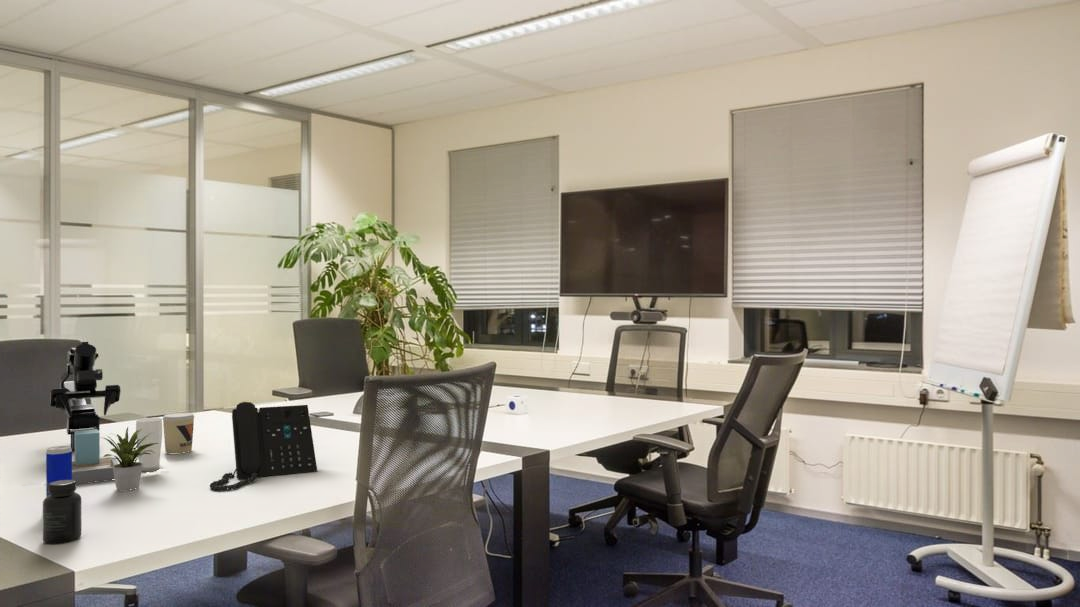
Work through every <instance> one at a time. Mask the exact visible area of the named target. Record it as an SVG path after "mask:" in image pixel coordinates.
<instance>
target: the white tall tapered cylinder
mask: <svg viewBox="0 0 1080 607" xmlns="http://www.w3.org/2000/svg"><path fill="white" fill-rule="evenodd" d="M135 421H136V423H135V432H136V431H137V430H141V431H140V432H139V433H138V434H137V439H136V441H138V440H139V439H141V440H142V439H143V438H144V437H145V436H147V435H148V434H150V433H152V434H150V435H148V436H150V437H148V436H147V437H146V438H145V439H144V440H143V441H142V442H141V443H140V444H139V445H138V446H143V445H146V444H150V443H158V444H154V445H152V446H149V447H147V448H145V449H143V450H142V451H141V452H143V451H146V450H151V451H153V452H151V451H146V452H145V453H150V454H151V455H150V454H143V455H142V456H141V455H140V456H141V457H140V456H138V458H137V460H138V462H140V463H143V466H142V472H141V473H143V472H149V473H155V472H158V471H159V470H160V465H161V463H160V461H161V449H162V440H163V439H162V438H163V418H161V417H147V418H144V417H143V418H139V419H136V420H135ZM153 432H154V433H153ZM141 440H139V441H138V442H137V444H138V443H139V442H140V441H141ZM137 444H136V445H137ZM138 448H139V447H138ZM138 448H136V450H137V449H138ZM143 453H144V452H143ZM141 454H142V453H141ZM157 467H158V468H157ZM157 470H158V471H157ZM154 471H155V472H154Z"/></svg>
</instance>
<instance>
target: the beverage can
mask: <svg viewBox="0 0 1080 607" xmlns="http://www.w3.org/2000/svg"><path fill="white" fill-rule="evenodd" d="M45 452H46V453H45V466H46V467H45V470H46V471H45V472H46V473H45V474H46V476H45V477H46V478H45V479H46V480H45V484H46V486H45V488H46V490H45V491H46V493H45V494H46V495H45V496H46V497H47V496H49V495H50V493H48V490H49V483H51V482H55V481H60V480H72V471H73V469H72V461H73V452H72V450H71V445H70V446H69V445H58V446H57V445H56V446H52V447H47V449H46V451H45ZM46 497H45V498H46Z"/></svg>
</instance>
